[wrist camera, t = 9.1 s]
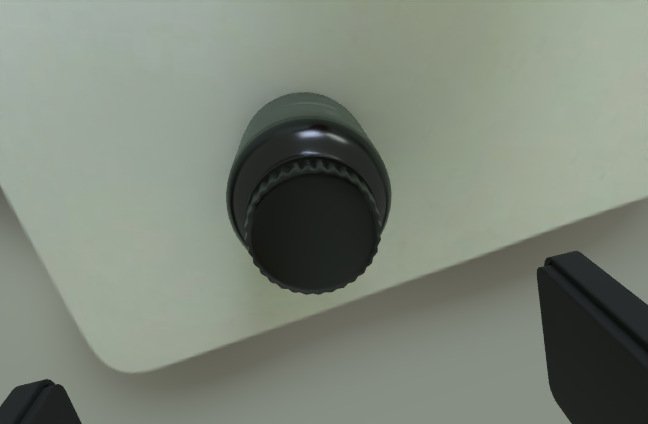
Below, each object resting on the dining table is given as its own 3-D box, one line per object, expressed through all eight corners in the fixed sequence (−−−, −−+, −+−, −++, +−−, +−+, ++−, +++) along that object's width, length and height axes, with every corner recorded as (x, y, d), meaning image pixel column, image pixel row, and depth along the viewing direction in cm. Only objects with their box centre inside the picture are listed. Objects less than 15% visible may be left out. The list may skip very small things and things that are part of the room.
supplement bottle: (219, 174, 30) (175, 263, 19) (282, 66, 28) (276, 92, 17) (324, 233, 32) (342, 350, 20) (390, 134, 30) (450, 199, 19)
